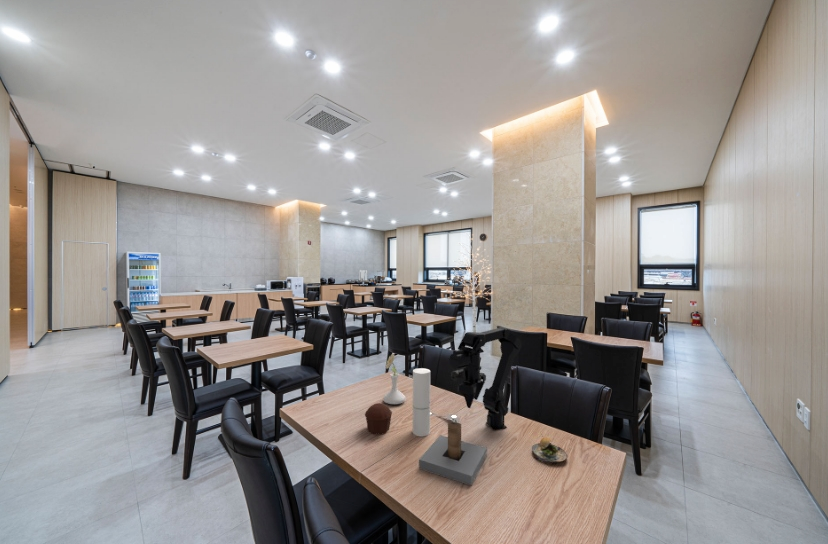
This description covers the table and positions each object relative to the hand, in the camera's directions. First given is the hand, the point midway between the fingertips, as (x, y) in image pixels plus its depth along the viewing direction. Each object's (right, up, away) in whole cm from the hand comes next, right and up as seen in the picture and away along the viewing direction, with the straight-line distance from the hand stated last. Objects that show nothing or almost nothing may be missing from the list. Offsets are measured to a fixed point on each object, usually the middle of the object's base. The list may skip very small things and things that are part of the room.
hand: (472, 403), depth 126 cm
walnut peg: (-10, -13, -17) cm, 24 cm away
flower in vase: (-33, -13, +32) cm, 48 cm away
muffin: (-38, -13, +5) cm, 41 cm away
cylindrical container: (-20, -13, +3) cm, 24 cm away
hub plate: (-10, -13, -17) cm, 24 cm away
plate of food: (+25, -14, -13) cm, 31 cm away
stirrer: (-12, -14, +17) cm, 25 cm away
